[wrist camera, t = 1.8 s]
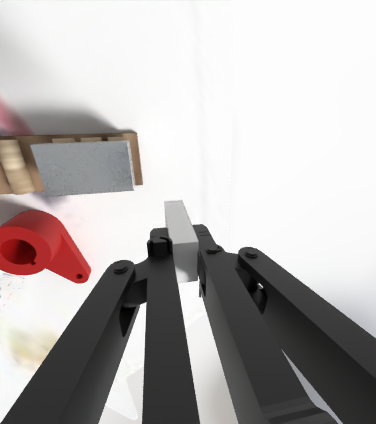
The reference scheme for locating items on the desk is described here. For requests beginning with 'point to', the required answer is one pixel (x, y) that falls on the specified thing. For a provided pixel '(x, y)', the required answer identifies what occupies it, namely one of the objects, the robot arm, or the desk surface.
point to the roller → (15, 167)
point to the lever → (40, 247)
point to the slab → (85, 167)
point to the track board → (3, 187)
